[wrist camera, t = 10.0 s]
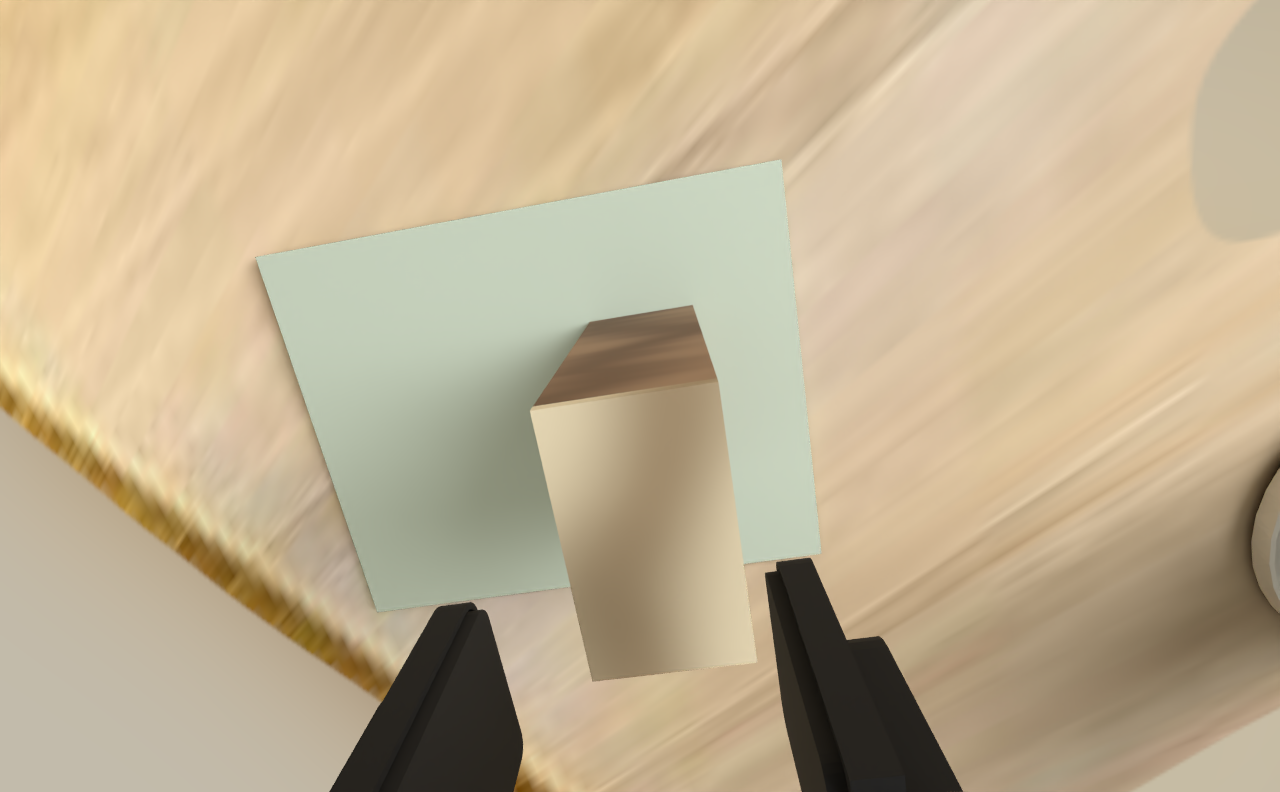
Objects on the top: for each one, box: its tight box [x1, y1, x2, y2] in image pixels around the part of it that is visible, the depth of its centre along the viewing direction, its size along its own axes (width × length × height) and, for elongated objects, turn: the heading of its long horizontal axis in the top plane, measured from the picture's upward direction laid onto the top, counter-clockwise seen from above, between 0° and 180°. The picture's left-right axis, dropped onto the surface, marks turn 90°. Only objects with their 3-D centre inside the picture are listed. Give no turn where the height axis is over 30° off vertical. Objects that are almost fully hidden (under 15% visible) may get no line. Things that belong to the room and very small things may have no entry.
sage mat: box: [255, 160, 821, 612], centre depth 25 cm, size 20×16×1 cm
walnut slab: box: [530, 305, 757, 681], centre depth 19 cm, size 4×7×11 cm, turn 10°
